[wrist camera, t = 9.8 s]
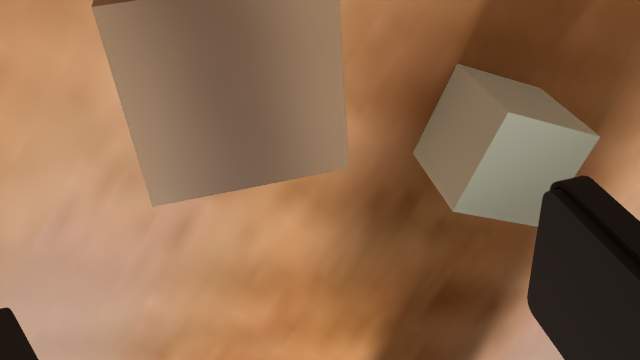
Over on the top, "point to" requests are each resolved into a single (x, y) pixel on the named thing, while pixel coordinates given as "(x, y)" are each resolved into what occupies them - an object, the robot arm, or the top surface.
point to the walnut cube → (227, 90)
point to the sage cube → (500, 146)
